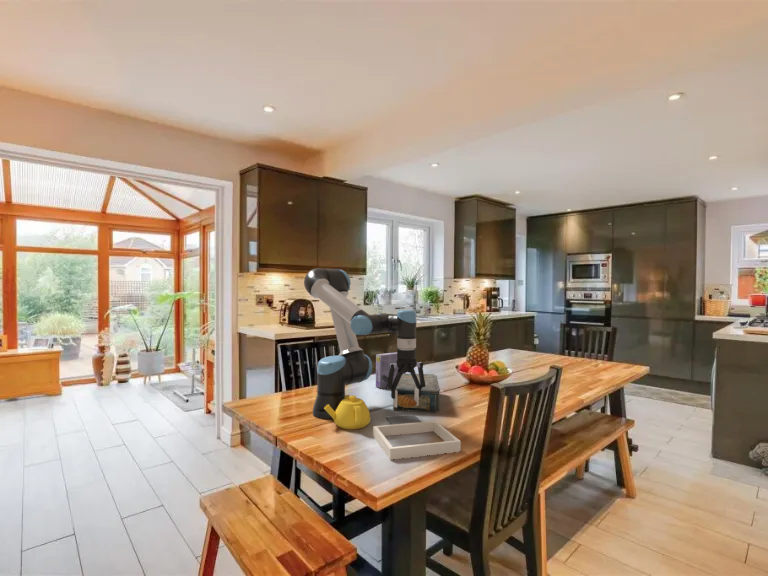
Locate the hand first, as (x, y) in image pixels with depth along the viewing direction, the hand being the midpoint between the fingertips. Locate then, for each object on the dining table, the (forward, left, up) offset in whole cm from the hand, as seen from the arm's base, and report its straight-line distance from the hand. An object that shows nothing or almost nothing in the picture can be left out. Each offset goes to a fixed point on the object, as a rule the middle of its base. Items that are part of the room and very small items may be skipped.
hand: (405, 405), depth 159 cm
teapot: (-23, +3, -7) cm, 24 cm away
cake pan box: (+12, +56, -7) cm, 58 cm away
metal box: (+14, +26, -7) cm, 30 cm away
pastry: (0, +2, -1) cm, 2 cm away
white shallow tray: (-4, -21, -7) cm, 22 cm away
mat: (0, 0, -7) cm, 7 cm away
